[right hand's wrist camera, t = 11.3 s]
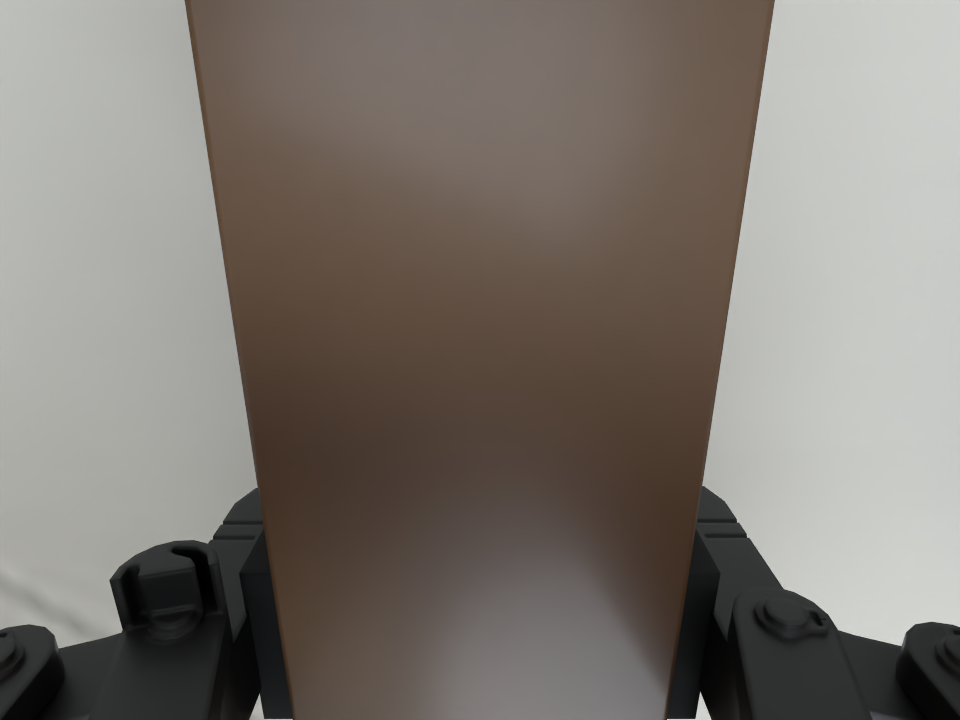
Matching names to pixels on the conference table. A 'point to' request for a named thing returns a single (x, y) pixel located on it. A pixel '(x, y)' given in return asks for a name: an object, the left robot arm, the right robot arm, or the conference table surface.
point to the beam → (479, 333)
